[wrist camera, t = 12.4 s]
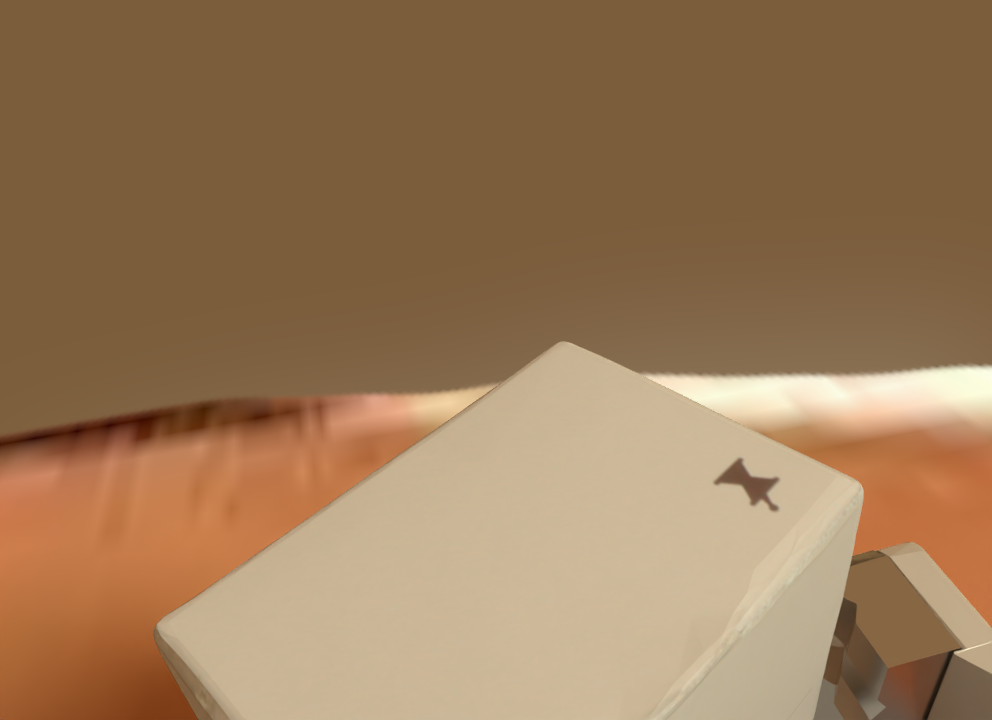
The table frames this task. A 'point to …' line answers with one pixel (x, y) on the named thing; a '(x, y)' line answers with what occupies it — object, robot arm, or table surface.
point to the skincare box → (541, 571)
